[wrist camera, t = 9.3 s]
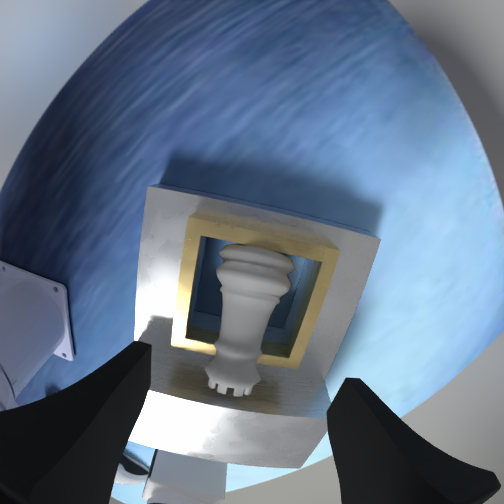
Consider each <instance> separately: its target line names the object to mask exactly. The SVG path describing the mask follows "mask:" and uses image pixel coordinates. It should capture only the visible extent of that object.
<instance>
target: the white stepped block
mask: <svg viewBox="0 0 504 504" xmlns="http://www.w3.org/2000/svg"><path fill="white" fill-rule="evenodd" d="M207 237H211V238H216V239H221V240H225V241H230V242H234V243H239V244H244V245H248V246H254V247H259V248H263V249H268V250H272V251H276V252H280V253H285V254H290V255H294V256H299V257H303V258H306V260H305V263H304V267H303V270H302V273H301V277H300V280H299V283H298V287H297V290H296V293H295V296H294V299H293V302H292V306H291V309H290V312H289V315H288V318H287V321H286V324H285V327H284V329H283V328H277V327H271V326H267V327H266V330H265V332H264V335H263V339H262V343H261V348H260V349H261V351H262V354H263V355H261V356H260V357H259V358H258V359H257V362H256V369H257V372H258V374H259V376H260V379H261V380H260V381H259V382H257V383H256V384H255V385H254V386H252V391H251V394H249V395H245V394H244V392H243V396H242V397H241V396H234V395H233V392H234V388H229V387H227V392H226V394H222V393H219V392H217V389H218V384H217V383H216V387H215V388H210V387H209V386H208V382H209V376H208V374H207V373H206V371H205V366H206V365H207V364H208V363H209V362H210V361H212V360H213V359H214V358H215V356H216V348H215V346H214V342H216V341H217V340H218V339H219V335H220V330H221V322H222V317H220V316H215V315H211V314H206V313H202V312H197V311H195V306H196V300H197V294H198V288H199V282H200V276H201V270H202V264H203V258H204V253H205V247H206V242H207ZM380 241H381V239H380V238H378V237H377V236H375V235H374V234H372V233H370V232H369V231H365V230H362V229H358V228H354V227H351V226H347V225H343V224H340V223H336V222H332V221H328V220H324V219H320V218H316V217H312V216H308V215H304V214H300V213H296V212H292V211H288V210H284V209H279V208H275V207H271V206H267V205H262V204H258V203H253V202H249V201H244V200H240V199H235V198H230V197H226V196H221V195H216V194H211V193H206V192H201V191H196V190H191V189H186V188H180V187H175V186H170V185H164V184H155V185H151V186H148V189H147V195H146V202H145V209H144V216H143V224H142V233H141V242H140V252H139V263H138V276H137V292H136V314H135V340H137V341H141V342H144V343H148V344H152V355H151V385H150V388H149V392H148V395H147V398H146V401H145V404H144V407H143V409H142V412H141V414H140V416H139V418H138V420H137V423H136V425H135V427H134V429H133V431H132V434H131V436H130V438H129V440H130V441H133V442H136V443H140V444H143V445H146V446H150V447H153V448H157V449H161V450H164V451H168V452H172V453H177V454H181V455H186V456H190V457H195V458H200V459H206V460H212V461H218V462H224V463H231V464H239V465H248V466H259V467H273V468H301V466H302V465H303V464H304V463H305V461H306V460H307V459H308V457H309V456H310V455H311V453H312V452H313V451H314V449H315V448H316V446H317V445H318V444H319V442H320V441H321V439H322V438H323V436H324V435H325V434H326V432H327V431H328V427H327V415H326V412H327V410H328V408H329V407H330V405H331V401H330V398H329V394H328V391H327V388H326V384H325V381H324V379H325V377H326V375H327V373H328V371H329V369H330V367H331V365H332V363H333V361H334V358H335V356H336V354H337V352H338V350H339V348H340V345H341V343H342V341H343V339H344V336H345V334H346V332H347V329H348V327H349V325H350V322H351V320H352V317H353V315H354V313H355V310H356V308H357V305H358V303H359V300H360V297H361V295H362V292H363V290H364V287H365V284H366V282H367V279H368V276H369V273H370V270H371V268H372V265H373V262H374V259H375V256H376V253H377V250H378V247H379V244H380ZM244 391H245V389H244Z"/></svg>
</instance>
